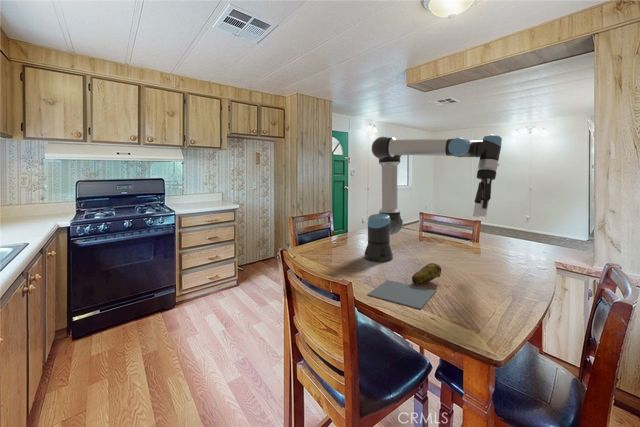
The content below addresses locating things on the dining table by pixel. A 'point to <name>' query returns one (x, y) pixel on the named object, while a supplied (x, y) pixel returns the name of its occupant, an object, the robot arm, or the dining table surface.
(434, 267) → the potato
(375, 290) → the mat
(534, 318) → the dining table surface
